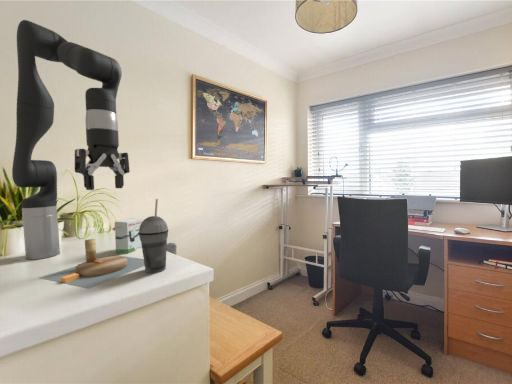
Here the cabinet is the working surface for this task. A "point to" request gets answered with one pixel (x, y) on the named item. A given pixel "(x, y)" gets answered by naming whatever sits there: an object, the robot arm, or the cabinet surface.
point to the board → (87, 282)
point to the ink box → (127, 235)
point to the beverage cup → (154, 242)
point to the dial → (98, 262)
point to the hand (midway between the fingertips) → (105, 189)
